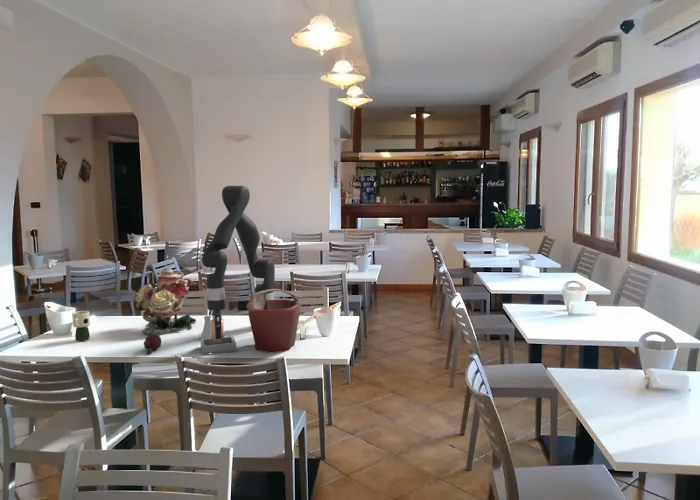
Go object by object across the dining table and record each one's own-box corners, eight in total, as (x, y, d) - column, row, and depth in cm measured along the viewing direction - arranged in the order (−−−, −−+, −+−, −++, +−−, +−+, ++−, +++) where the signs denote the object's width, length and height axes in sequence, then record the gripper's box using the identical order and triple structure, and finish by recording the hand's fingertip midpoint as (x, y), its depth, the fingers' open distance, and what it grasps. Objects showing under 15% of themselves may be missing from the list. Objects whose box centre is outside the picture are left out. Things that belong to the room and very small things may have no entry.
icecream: (148, 331, 252) (135, 343, 237) (164, 326, 251) (151, 339, 237) (153, 345, 253) (140, 358, 238) (169, 341, 253) (157, 354, 238)
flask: (212, 340, 259) (211, 318, 257) (197, 339, 260) (196, 318, 259) (219, 336, 266) (218, 315, 264) (204, 335, 267) (203, 314, 266)
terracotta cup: (223, 338, 247) (222, 317, 246) (224, 341, 242) (223, 320, 241) (211, 339, 246) (210, 318, 245) (212, 342, 241) (211, 321, 240)
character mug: (85, 343, 257) (82, 315, 255) (69, 343, 257) (67, 315, 255) (95, 336, 267) (94, 309, 266) (80, 337, 267) (78, 309, 266)
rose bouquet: (135, 325, 287) (132, 266, 283) (195, 320, 296) (193, 263, 293) (134, 339, 263) (130, 274, 259) (199, 332, 272) (196, 270, 269)
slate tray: (233, 343, 252) (233, 336, 252) (236, 351, 241) (236, 343, 241) (200, 346, 248) (200, 339, 248) (202, 354, 237) (201, 346, 237)
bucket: (251, 357, 233) (249, 297, 230) (239, 343, 253) (237, 287, 250) (308, 349, 242) (307, 291, 239) (292, 336, 263) (291, 283, 260)
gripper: (226, 300, 236) (228, 340, 238) (223, 294, 250) (225, 332, 252) (208, 301, 234) (209, 342, 236) (206, 295, 248) (207, 333, 250)
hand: (217, 336), depth 244 cm, fingers closed on terracotta cup, 5 cm apart
